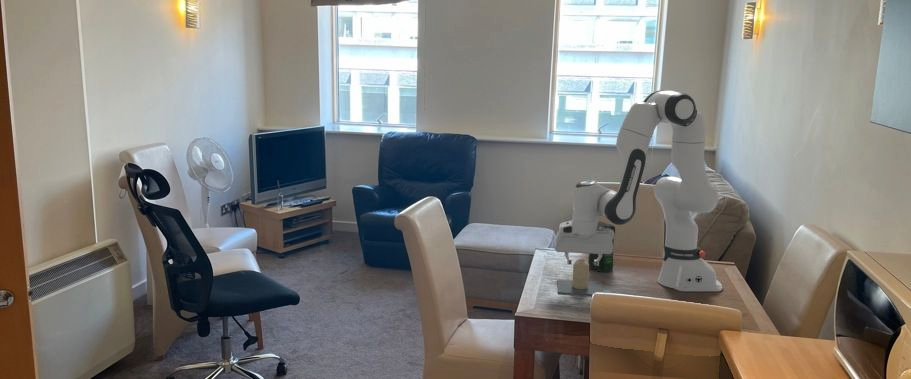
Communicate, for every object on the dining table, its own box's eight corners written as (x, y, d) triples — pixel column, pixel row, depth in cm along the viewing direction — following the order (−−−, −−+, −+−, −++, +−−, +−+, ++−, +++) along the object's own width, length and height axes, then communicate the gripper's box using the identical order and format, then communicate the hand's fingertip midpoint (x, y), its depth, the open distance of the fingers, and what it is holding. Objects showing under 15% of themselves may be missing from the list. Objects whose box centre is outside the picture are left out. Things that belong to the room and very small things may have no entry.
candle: (587, 290, 245) (589, 262, 243) (572, 288, 246) (573, 261, 244) (587, 285, 250) (589, 258, 248) (572, 284, 251) (573, 257, 249)
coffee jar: (616, 271, 270) (619, 224, 266) (600, 273, 266) (603, 226, 263) (600, 264, 278) (603, 219, 275) (584, 266, 274) (587, 220, 271)
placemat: (601, 283, 254) (601, 282, 254) (604, 296, 240) (604, 295, 240) (557, 281, 256) (557, 279, 255) (558, 293, 242) (558, 292, 242)
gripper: (613, 225, 245) (611, 263, 248) (555, 223, 248) (554, 260, 251) (615, 230, 239) (613, 268, 242) (555, 228, 242) (554, 266, 245)
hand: (582, 264), depth 246 cm, fingers open, 8 cm apart
